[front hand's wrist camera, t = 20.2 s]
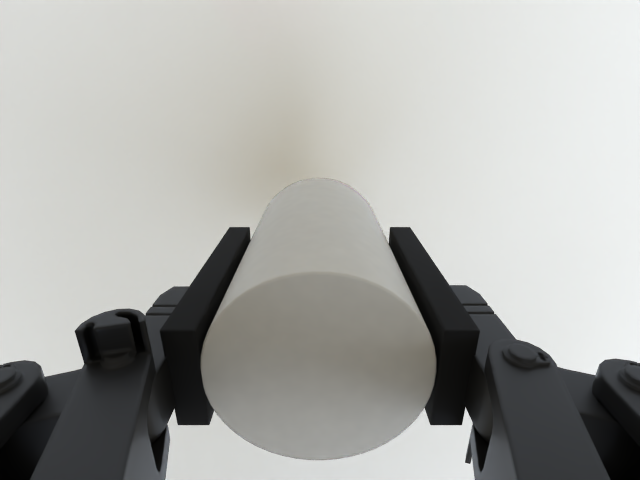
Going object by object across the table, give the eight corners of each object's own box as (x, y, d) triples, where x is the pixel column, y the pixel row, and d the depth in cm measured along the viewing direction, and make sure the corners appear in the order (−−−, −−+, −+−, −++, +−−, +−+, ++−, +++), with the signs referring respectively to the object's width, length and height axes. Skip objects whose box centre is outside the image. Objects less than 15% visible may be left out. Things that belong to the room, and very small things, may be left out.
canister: (369, 292, 17) (414, 467, 9) (258, 283, 17) (202, 454, 9) (386, 183, 16) (462, 282, 7) (261, 172, 15) (194, 262, 7)
